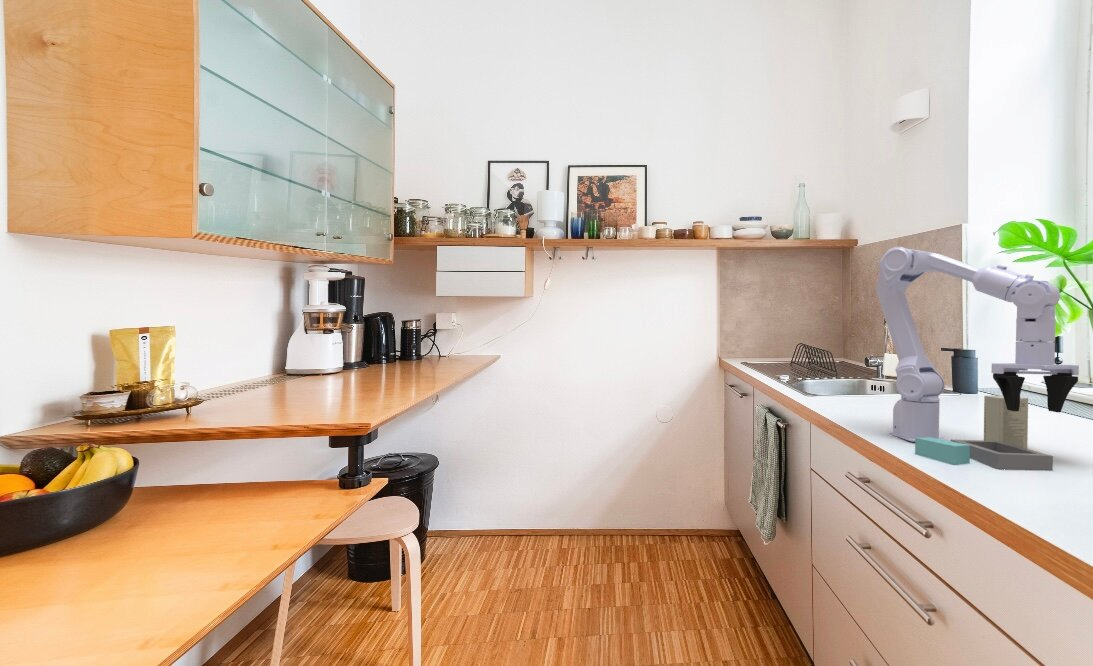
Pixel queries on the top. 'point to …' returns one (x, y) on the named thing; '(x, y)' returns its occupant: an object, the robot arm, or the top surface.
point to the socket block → (1007, 456)
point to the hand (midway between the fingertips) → (1033, 411)
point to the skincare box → (1005, 421)
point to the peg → (943, 450)
